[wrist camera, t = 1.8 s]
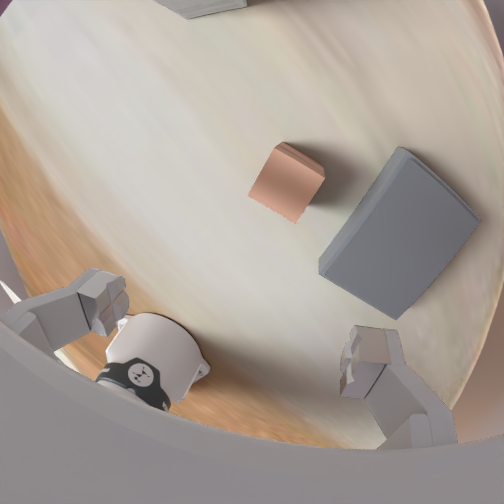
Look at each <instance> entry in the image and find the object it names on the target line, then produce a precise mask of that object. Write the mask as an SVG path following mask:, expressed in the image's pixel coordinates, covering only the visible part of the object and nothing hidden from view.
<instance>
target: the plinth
mask: <svg viewBox="0 0 504 504" xmlns="http://www.w3.org/2000/svg"><path fill="white" fill-rule="evenodd" d="M480 221H481V219H480V218H479V217H478V216H477V215H476V214H475V213H474V212H473V210H472V209H471V208H470V207H469V206H468V205H467V204H466V203H465V202H464V201H463V200H462V199H461V198H460V197H459V196H458V195H457V194H456V193H455V192H454V191H453V190H452V189H451V188H450V187H449V186H448V185H447V184H446V183H445V182H443V181H442V180H441V179H440V178H439V177H438V176H437V175H436V174H435V173H434V172H432V171H431V170H430V169H429V168H428V167H427V166H426V165H424V164H423V163H422V162H421V161H420V160H419V159H417V158H416V157H415V156H414V155H413V154H411V153H410V152H409V151H408V150H405V149H403V148H401V147H397V148H396V150H395V152H394V153H393V155H392V156H391V158H390V159H389V161H388V162H387V164H386V165H385V167H384V168H383V170H382V171H381V173H380V174H379V176H378V177H377V179H376V180H375V182H374V183H373V185H372V186H371V188H370V189H369V191H368V192H367V193H366V195H365V196H364V198H363V199H362V201H361V202H360V203H359V205H358V206H357V208H356V209H355V211H354V212H353V213H352V215H351V216H350V218H349V219H348V220H347V222H346V223H345V225H344V226H343V227H342V229H341V230H340V231H339V233H338V234H337V235H336V237H335V238H334V240H333V241H332V242H331V244H330V245H329V246H328V248H327V249H326V250H325V252H324V253H323V254H322V256H321V257H320V258H319V275H321V276H323V277H324V278H326V279H328V280H329V281H331V282H333V283H334V284H336V285H338V286H340V287H341V288H343V289H345V290H346V291H348V292H350V293H351V294H353V295H355V296H356V297H358V298H360V299H361V300H363V301H365V302H366V303H368V304H370V305H371V306H373V307H374V308H376V309H378V310H379V311H381V312H383V313H384V314H386V315H388V316H389V317H391V318H393V319H394V320H397V319H398V318H399V317H400V316H401V315H402V314H403V313H404V312H405V311H406V310H407V309H408V308H409V307H410V306H411V305H412V304H413V303H414V302H415V300H416V299H417V298H418V297H419V296H420V295H421V294H422V293H423V292H424V291H425V290H426V289H427V288H428V286H429V285H430V284H431V283H432V282H433V281H434V280H435V279H436V277H437V276H438V275H439V274H440V273H441V272H442V270H443V269H444V268H445V267H446V266H447V265H448V263H449V262H450V261H451V260H452V258H453V257H454V256H455V255H456V253H457V252H458V251H459V250H460V248H461V247H462V246H463V244H464V243H465V242H466V241H467V239H468V238H469V237H470V235H471V234H472V232H473V231H474V230H475V228H476V227H477V226H478V224H479V223H480Z"/></svg>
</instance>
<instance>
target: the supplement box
mask: <svg viewBox="0 0 504 504" xmlns="http://www.w3.org/2000/svg"><path fill="white" fill-rule="evenodd" d="M153 1H155V2H157V3H159V4H160V5H162V6H164V7H166V8H168V9H170V10H171V11H173V12H175V13H176V14H178V15H180V16H181V17H183V18H185V19H190V18H194V17H198V16H203V15H207V14H211V13H216V12H221V11H226V10H232V9H238V8H243V7H247V0H153Z"/></svg>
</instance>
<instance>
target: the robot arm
mask: <svg viewBox="0 0 504 504" xmlns="http://www.w3.org/2000/svg"><path fill="white" fill-rule="evenodd" d="M125 288H126V282H125V278H123V277H122V276H120V275H116V274H113V273H110V272H107V271H103V270H100V269H96V268H89V269H88V270H87V271H85V272H84V273H83V274H82V275H81V276H79V277H78V278H77V279H76V280H75V281H74V282H72V283H71V284H70V285H69V286H68V287H67V288H64V287H63V288H60V289H56V290H53V291H50V292H47V293H44V294H41V295H38V296H35V297H32V298H29V299H26V300H23V301H20V302H17V303H16V304H15V305H14V306H13V307H11V308H10V309H9V310H8V311H7V312H6V313H5V314H4V315H3V316H2V317H1V318H0V504H504V434H501V435H498V436H493V437H489V438H485V439H480V440H475V441H470V442H464V443H458V440H457V435H456V430H455V424H454V420H453V415H452V411H451V410H450V409H449V408H448V407H447V406H446V405H445V403H444V402H443V401H442V400H441V399H440V398H439V397H438V396H437V395H436V394H435V393H434V391H433V390H432V389H431V388H430V387H429V386H428V385H427V384H426V383H425V382H424V381H423V380H422V379H421V377H420V376H419V375H418V374H417V373H416V372H415V371H414V370H413V369H412V368H411V367H410V366H406V363H405V359H404V354H403V350H402V346H401V342H400V338H399V334H398V332H397V330H392V329H380V328H372V327H364V326H357V325H354V326H353V328H352V330H351V332H350V341H349V342H347V343H346V344H345V347H344V349H343V352H342V356H341V363H340V370H341V371H342V373H343V376H342V378H341V380H340V396H342V397H350V398H358V399H364V401H365V403H366V405H367V406H368V408H369V410H370V411H371V413H372V415H373V416H374V418H375V420H376V421H377V423H378V425H379V426H380V428H381V430H382V431H383V433H384V435H385V437H386V438H387V440H386V441H385V442H384V443H383V444H382V445H381V446H379V447H378V448H377V449H376V450H365V449H341V448H328V447H317V446H308V445H300V444H293V443H286V442H280V441H274V440H268V439H263V438H258V437H253V436H248V435H244V434H239V433H235V432H231V431H227V430H223V429H219V428H216V427H212V426H208V425H205V424H201V423H198V422H195V421H192V420H188V419H185V418H182V417H179V416H176V415H173V414H171V413H168V410H169V408H170V406H171V403H173V402H176V403H179V402H180V401H181V400H183V399H184V398H185V396H186V395H187V393H188V391H189V389H190V387H191V385H192V383H194V382H196V381H197V380H199V379H200V378H202V377H203V376H205V375H207V374H208V373H209V371H210V369H211V368H210V366H209V365H208V363H207V362H206V361H205V360H204V359H203V357H202V355H201V352H200V349H199V347H198V345H197V343H196V342H195V340H194V339H193V338H192V337H191V335H190V334H189V333H188V332H187V331H185V330H184V329H183V328H182V327H180V326H179V325H178V324H176V323H175V322H173V321H171V320H169V319H167V318H165V317H162V316H160V315H156V314H151V313H141V314H138V315H134V316H130V315H126V314H127V312H128V309H129V296H128V294H127V293H126V292H125V290H124V289H125ZM116 321H118V330H119V332H118V333H117V335H116V336H115V338H114V339H113V341H112V342H111V343H110V345H109V346H108V348H107V350H106V353H107V360H108V364H106V366H105V367H104V368H103V369H102V370H101V371H100V373H99V375H98V377H97V379H96V381H93V380H91V379H89V378H87V377H85V376H84V375H82V374H80V373H78V372H76V371H74V370H73V369H71V368H69V367H67V366H66V365H64V364H62V363H60V362H59V361H58V359H57V358H56V356H55V354H54V351H56V350H58V349H60V348H62V347H63V346H65V345H67V344H69V343H71V342H73V341H75V340H76V339H78V338H80V337H82V336H84V335H86V334H88V333H90V331H92V332H95V333H97V334H100V335H102V336H105V337H108V336H109V335H110V334H111V332H112V331H113V330H114V329H115V328H116V326H117V324H116Z"/></svg>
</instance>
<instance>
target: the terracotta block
mask: <svg viewBox="0 0 504 504" xmlns="http://www.w3.org/2000/svg"><path fill="white" fill-rule="evenodd" d="M324 179H325V173H324V166H322V165H321V164H319V163H317V162H316V161H314V160H312V159H311V158H309V157H308V156H306V155H304V154H302V153H301V152H299V151H297V150H296V149H294V148H292V147H290V146H289V145H287V144H285V143H283V142H281V143H280V144H279V145H277V146H276V147H275V148H274V149H273V151H272V153H271V154H270V156H269V158H268V160H267V161H266V163H265V165H264V167H263V169H262V170H261V172H260V174H259V176H258V178H257V179H256V181H255V183H254V185H253V187H252V188H251V190H250V192H249V194H248V196H249V197H251V198H253V199H254V200H256V201H258V202H260V203H261V204H263V205H265V206H266V207H268V208H270V209H272V210H273V211H275V212H277V213H278V214H280V215H282V216H284V217H285V218H287V219H289V220H290V221H292V222H294V223H295V224H296V222H297V221H298V219H299V218H300V216H301V215H302V213H303V212H304V210H305V209H306V207H307V205H308V204H309V202H310V201H311V199H312V198H313V196H314V195H315V193H316V192H317V190H318V189H319V187H320V185H321V184H322V182H323V181H324Z"/></svg>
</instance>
